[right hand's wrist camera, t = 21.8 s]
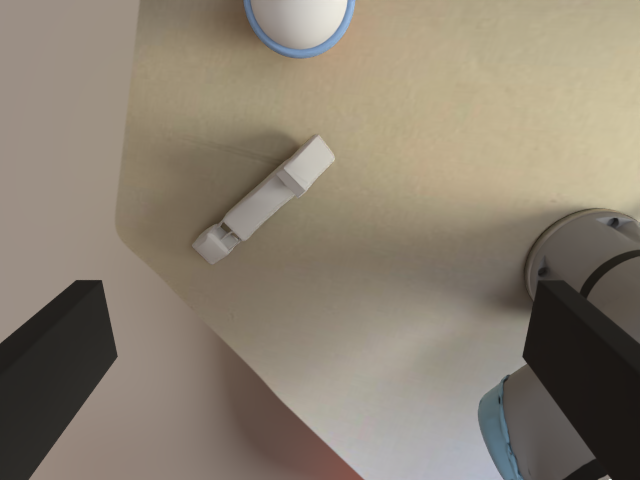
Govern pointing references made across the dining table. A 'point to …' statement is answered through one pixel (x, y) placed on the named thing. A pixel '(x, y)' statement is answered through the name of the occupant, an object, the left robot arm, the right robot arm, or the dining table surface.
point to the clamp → (266, 199)
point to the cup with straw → (299, 24)
